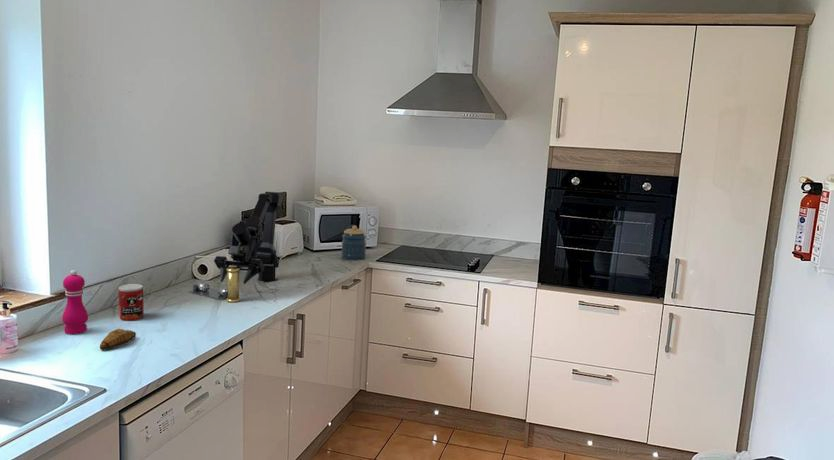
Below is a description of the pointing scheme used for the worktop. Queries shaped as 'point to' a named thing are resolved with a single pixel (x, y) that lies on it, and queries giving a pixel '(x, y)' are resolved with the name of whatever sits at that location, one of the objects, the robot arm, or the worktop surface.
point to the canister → (354, 243)
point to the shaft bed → (209, 291)
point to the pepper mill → (74, 305)
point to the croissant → (117, 338)
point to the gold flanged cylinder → (233, 284)
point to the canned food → (131, 302)
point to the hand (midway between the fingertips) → (232, 282)
